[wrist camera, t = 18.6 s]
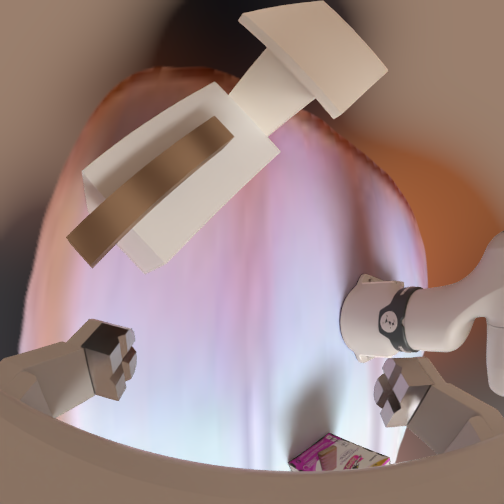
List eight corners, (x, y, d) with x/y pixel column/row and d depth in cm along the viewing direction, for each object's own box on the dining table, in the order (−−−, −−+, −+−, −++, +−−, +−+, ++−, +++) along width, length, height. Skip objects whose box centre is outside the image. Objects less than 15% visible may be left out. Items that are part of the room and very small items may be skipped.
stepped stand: (227, 105, 49) (323, 0, 25) (270, 152, 52) (388, 70, 28) (88, 212, 36) (75, 81, 12) (145, 274, 39) (218, 238, 15)
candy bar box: (328, 430, 50) (390, 455, 36) (333, 446, 50) (393, 471, 36) (285, 462, 45) (344, 499, 31) (292, 476, 45) (349, 513, 31)
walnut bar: (204, 129, 30) (214, 115, 27) (222, 149, 30) (234, 136, 28) (70, 243, 22) (66, 237, 19) (92, 268, 23) (90, 265, 20)
